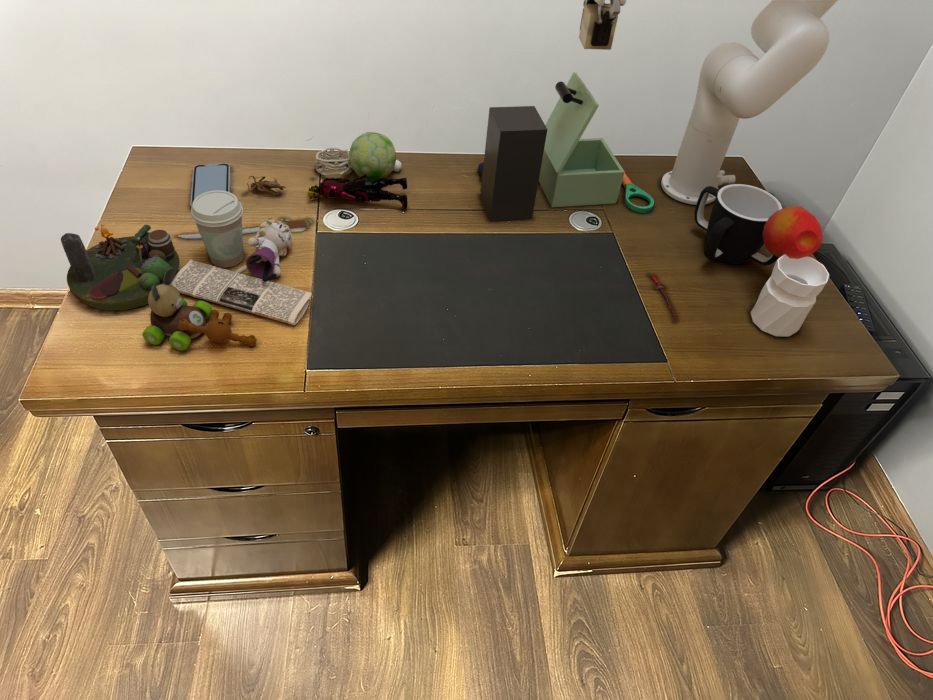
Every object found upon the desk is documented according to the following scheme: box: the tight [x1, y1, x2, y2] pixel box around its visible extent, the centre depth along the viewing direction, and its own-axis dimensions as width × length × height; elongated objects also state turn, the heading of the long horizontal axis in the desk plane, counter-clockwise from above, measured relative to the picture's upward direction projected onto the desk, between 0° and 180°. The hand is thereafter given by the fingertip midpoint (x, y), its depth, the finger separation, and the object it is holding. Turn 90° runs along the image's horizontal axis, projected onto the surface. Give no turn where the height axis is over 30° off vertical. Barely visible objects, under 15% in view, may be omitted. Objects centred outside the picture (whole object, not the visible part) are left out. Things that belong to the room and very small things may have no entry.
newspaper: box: [170, 259, 313, 326], centre depth 119 cm, size 24×7×2 cm, turn 73°
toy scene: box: [60, 222, 180, 311], centre depth 116 cm, size 18×18×11 cm
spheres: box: [392, 159, 403, 173], centre depth 153 cm, size 15×2×2 cm
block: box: [578, 4, 619, 51], centre depth 124 cm, size 5×5×6 cm
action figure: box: [303, 174, 409, 211], centre depth 140 cm, size 15×6×20 cm
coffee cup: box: [190, 190, 245, 268], centre depth 122 cm, size 8×8×12 cm
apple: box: [763, 205, 824, 259], centre depth 121 cm, size 9×9×12 cm
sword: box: [176, 218, 313, 241], centre depth 132 cm, size 25×1×5 cm
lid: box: [544, 71, 600, 174], centre depth 138 cm, size 15×14×5 cm
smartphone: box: [190, 162, 231, 208], centre depth 140 cm, size 7×1×15 cm
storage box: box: [538, 137, 626, 208], centre depth 148 cm, size 15×14×8 cm
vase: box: [750, 254, 830, 338], centre depth 121 cm, size 9×9×12 cm
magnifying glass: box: [621, 172, 655, 214], centre depth 151 cm, size 15×6×2 cm, turn 14°
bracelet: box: [314, 146, 354, 177], centre depth 147 cm, size 4×8×8 cm
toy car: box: [141, 268, 213, 352], centre depth 109 cm, size 9×9×11 cm
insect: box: [244, 175, 287, 196], centre depth 140 cm, size 4×8×5 cm
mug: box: [693, 183, 783, 266], centre depth 134 cm, size 16×16×12 cm
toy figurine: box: [178, 309, 258, 347], centre depth 111 cm, size 12×4×7 cm
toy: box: [234, 216, 293, 282], centre depth 124 cm, size 8×10×15 cm
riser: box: [479, 105, 548, 222], centre depth 137 cm, size 9×9×20 cm
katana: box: [650, 274, 677, 321], centre depth 128 cm, size 13×2×1 cm, turn 7°
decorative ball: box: [348, 131, 397, 181], centre depth 144 cm, size 10×10×10 cm
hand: (593, 37), depth 125 cm, fingers closed on block, 5 cm apart
